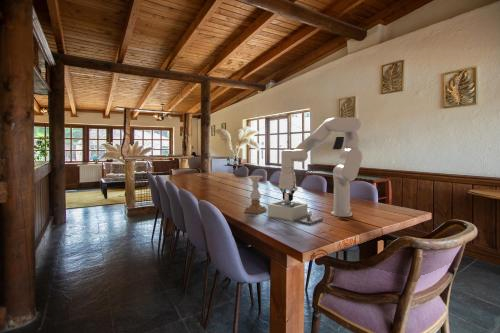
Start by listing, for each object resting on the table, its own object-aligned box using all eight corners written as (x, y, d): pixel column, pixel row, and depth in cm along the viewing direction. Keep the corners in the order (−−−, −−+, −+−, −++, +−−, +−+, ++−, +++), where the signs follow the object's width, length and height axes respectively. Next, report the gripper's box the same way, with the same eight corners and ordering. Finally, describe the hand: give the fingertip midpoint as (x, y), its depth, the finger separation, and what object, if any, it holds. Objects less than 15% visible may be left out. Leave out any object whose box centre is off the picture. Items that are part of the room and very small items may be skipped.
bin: (283, 212, 181) (283, 200, 180) (307, 216, 168) (307, 204, 168) (268, 216, 169) (267, 204, 169) (292, 222, 157) (292, 208, 156)
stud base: (307, 217, 167) (307, 207, 167) (322, 220, 160) (322, 209, 160) (294, 222, 157) (294, 211, 157) (309, 225, 150) (309, 214, 150)
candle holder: (253, 209, 191) (253, 175, 189) (266, 211, 185) (266, 175, 183) (244, 212, 182) (243, 176, 180) (257, 214, 176) (257, 177, 174)
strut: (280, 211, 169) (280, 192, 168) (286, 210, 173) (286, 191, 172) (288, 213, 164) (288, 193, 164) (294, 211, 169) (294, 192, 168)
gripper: (273, 170, 170) (273, 199, 171) (295, 171, 158) (295, 202, 160) (280, 169, 175) (280, 197, 177) (302, 170, 164) (302, 200, 165)
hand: (287, 199), depth 168 cm, fingers closed on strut, 3 cm apart
